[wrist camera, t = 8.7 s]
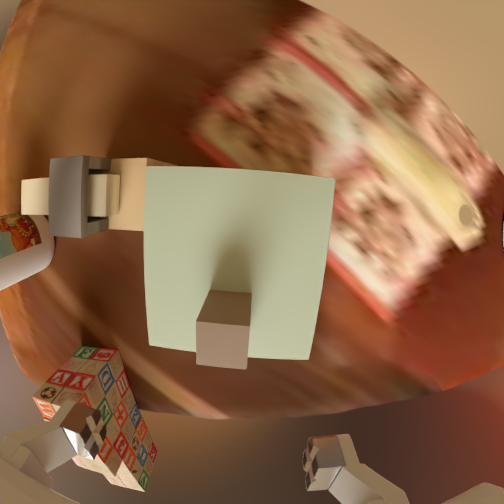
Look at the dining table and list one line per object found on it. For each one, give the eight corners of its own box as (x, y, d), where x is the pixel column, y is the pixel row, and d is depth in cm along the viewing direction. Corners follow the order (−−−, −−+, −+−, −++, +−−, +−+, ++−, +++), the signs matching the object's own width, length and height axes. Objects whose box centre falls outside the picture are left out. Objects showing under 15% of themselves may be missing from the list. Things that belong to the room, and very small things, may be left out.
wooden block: (120, 174, 18) (106, 174, 16) (118, 213, 18) (105, 216, 17) (36, 179, 18) (21, 179, 16) (36, 211, 18) (21, 214, 17)
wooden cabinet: (312, 174, 26) (354, 166, 14) (296, 317, 29) (316, 389, 17) (103, 166, 26) (27, 162, 14) (106, 296, 29) (46, 346, 17)
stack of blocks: (159, 451, 35) (140, 507, 23) (126, 445, 35) (103, 496, 23) (118, 348, 30) (70, 410, 18) (80, 344, 31) (30, 397, 19)
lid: (331, 178, 19) (361, 176, 13) (306, 353, 22) (319, 400, 16) (151, 167, 19) (112, 161, 13) (153, 339, 22) (127, 380, 16)
